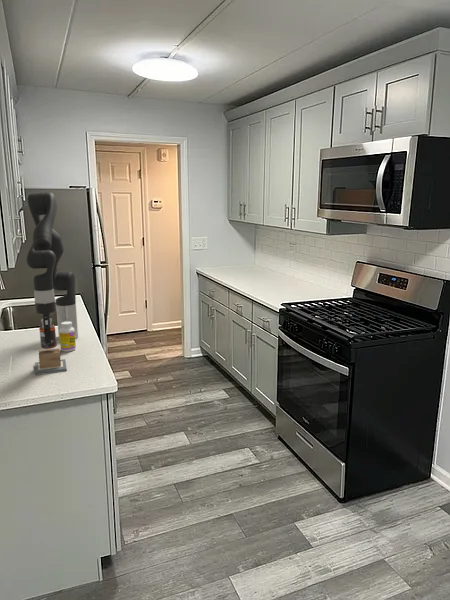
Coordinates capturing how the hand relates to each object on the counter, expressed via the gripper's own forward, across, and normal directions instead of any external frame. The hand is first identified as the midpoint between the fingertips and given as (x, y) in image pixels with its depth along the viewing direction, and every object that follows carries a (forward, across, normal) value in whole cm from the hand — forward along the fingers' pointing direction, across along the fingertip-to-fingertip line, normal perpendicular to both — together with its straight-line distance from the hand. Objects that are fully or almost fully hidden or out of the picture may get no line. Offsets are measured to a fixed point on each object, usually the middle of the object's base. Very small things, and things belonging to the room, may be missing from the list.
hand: (48, 340), depth 189 cm
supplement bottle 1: (+3, 0, 0) cm, 3 cm away
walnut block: (+10, 0, 0) cm, 10 cm away
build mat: (+12, 0, 0) cm, 12 cm away
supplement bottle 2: (+12, -22, +8) cm, 26 cm away
